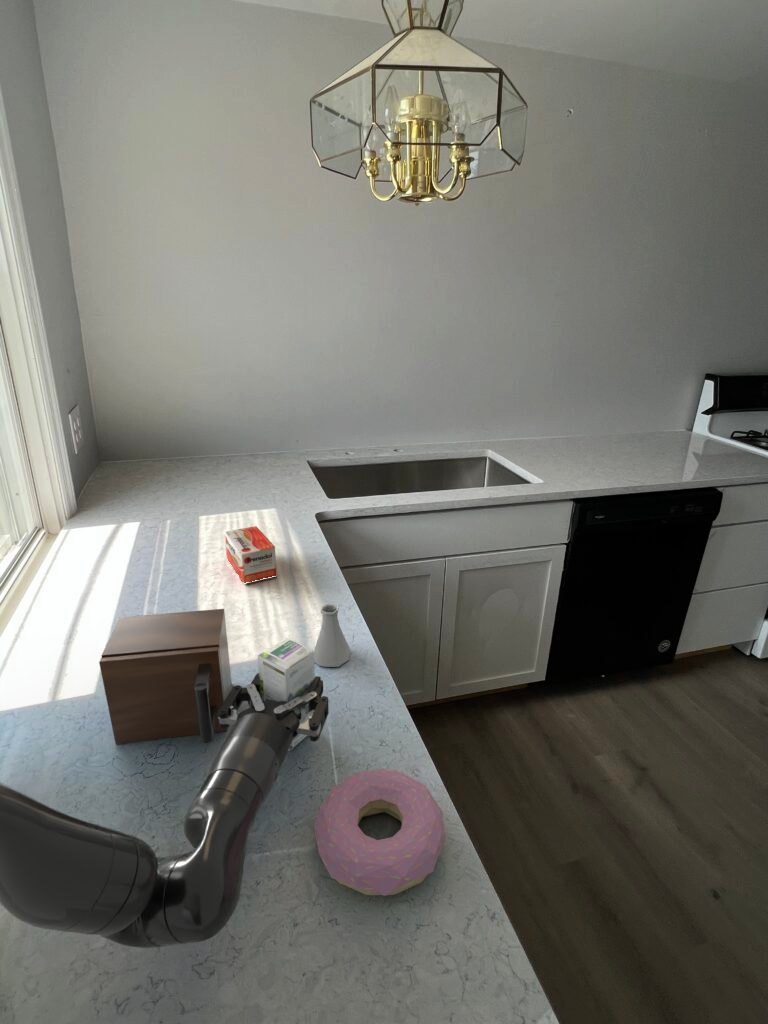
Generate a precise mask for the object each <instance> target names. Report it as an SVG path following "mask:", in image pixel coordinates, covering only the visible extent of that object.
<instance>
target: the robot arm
mask: <svg viewBox="0 0 768 1024" xmlns="http://www.w3.org/2000/svg"><path fill="white" fill-rule="evenodd" d="M323 693H324V680H322V679H321V676H319V675H318V676H316V675H315V678H314V680H313V682H312V685H311V687H310V689H309V693H308V694H306V695H305V696H303V697H301V698H300V697H296V698H294V699H293V700H291V701H289V702H285V701H274V700H269V699H266V700H265V701H262V700H261V697H260V686H259V672H257V673H256V674H255V676H254V677H253V679H252V680H251V682H250V683H249V684H247V685H246V687H242V686H241V685H240V684H236V685H234V686H233V687H231V691H230V693H229V694H228V696H227V698H226V699H225V701H224V702H223V704H222V705H221V707H220V709H219V710H218V718H219V726H220V728H221V729H225V728H227V729H228V728H229V726H231V725H232V726H233V727H232V729H231V730H230V732H229V734H228V736H227V737H226V739H225V741H224V742H223V744H222V746H221V748H220V750H219V752H218V753H217V754H216V756H215V758H214V760H213V761H212V763H211V766H210V768H209V771H208V774H207V775H206V778H205V779H204V781H203V783H202V784H201V786H200V788H199V790H198V791H197V793H196V795H195V796H194V798H193V800H192V802H191V804H190V806H189V808H188V810H187V812H186V814H185V817H184V821H183V832H184V835H185V838H186V840H187V841H188V843H189V844H190V845H191V846H192V847H193V848H194V850H193V851H188V852H184V853H179V854H174V855H168V856H161V857H160V856H159V857H157V855H156V853H155V851H154V849H153V848H152V847H151V845H150V844H148V842H146V841H145V840H143V839H141V838H139V837H137V836H135V835H132V834H130V833H126V832H124V831H119V830H117V829H113V828H110V827H107V826H103V825H100V824H96V823H92V822H90V821H86V820H83V819H80V818H77V817H74V816H72V815H69V814H67V813H65V812H62V811H60V810H57V809H56V808H53V807H51V806H49V805H47V804H45V803H43V802H41V801H39V800H38V799H35V798H34V797H32V796H30V795H28V794H26V793H24V792H23V791H20V790H19V789H16V788H15V787H13V786H11V785H9V784H8V783H5V782H3V781H1V780H0V905H1V906H2V908H4V909H5V910H6V911H7V912H8V913H9V914H10V915H12V916H13V917H14V918H16V919H17V920H19V921H20V922H23V923H25V924H27V925H29V926H31V927H32V926H33V927H36V928H39V929H43V930H51V931H58V932H65V933H75V934H81V935H91V936H101V937H102V938H104V939H106V940H109V941H110V942H114V943H116V944H119V945H121V946H126V947H132V948H141V949H157V948H162V947H169V946H178V945H185V944H193V943H199V942H204V941H207V940H209V939H211V938H213V937H215V936H217V934H219V933H220V932H221V931H222V929H224V927H225V926H226V925H227V923H228V922H229V921H230V919H231V918H232V916H233V914H234V912H235V911H236V908H237V905H238V903H239V900H240V895H241V891H242V890H241V889H242V883H243V876H244V875H243V874H244V867H245V862H246V856H247V850H248V843H249V836H250V833H251V830H252V829H253V826H254V824H255V822H256V819H257V817H258V815H259V812H260V810H261V809H262V806H263V805H264V802H265V800H266V799H267V797H268V796H269V794H270V792H271V791H272V788H273V787H274V784H275V782H276V781H277V780H278V777H279V772H280V770H281V768H282V766H283V763H284V761H285V759H286V757H287V754H288V752H289V751H288V749H289V747H290V744H291V741H292V740H293V739H294V738H295V737H296V736H297V735H298V734H304V735H309V741H311V742H317V741H318V740H319V739H320V737H321V734H322V733H323V729H324V727H325V725H326V722H327V719H328V716H329V713H330V712H329V711H330V709H329V706H330V705H329V697H328V696H326V695H323ZM322 695H323V696H322ZM243 702H247V704H248V706H249V707H248V708H246V709H244V710H242V711H241V712H239V713H237V712H238V711H239V709H240V707H241V706H242V704H243ZM308 703H309V705H307V704H308ZM306 705H307V706H306ZM305 706H306V707H305ZM294 709H296V713H295V711H294ZM313 712H314V713H313ZM311 713H313V715H312V716H309V717H308V719H307V720H306V722H304V723H302V722H303V721H304V720H305V719H306V717H307V716H308V715H310V714H311Z"/></svg>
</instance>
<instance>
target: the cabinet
mask: <svg viewBox="0 0 768 1024" xmlns="http://www.w3.org/2000/svg"><path fill="white" fill-rule="evenodd" d="M225 612H226V611H225V608H215V609H203V610H193V611H190V610H189V611H180V612H179V611H178V612H168V613H154V614H144V615H143V614H141V615H130V616H120V617H118V618H117V619H118V620H117V621H116V623H115V626H114V628H113V630H112V632H111V634H110V635H109V638H108V641H107V642H106V644H105V647H104V649H103V651H102V653H101V658H104V657H115V656H125V655H136V654H147V653H157V652H168V651H179V650H189V649H200V648H211V647H219V654H220V663H221V672H222V682H223V691H224V700H225V699H226V698H227V696H228V694H229V693H230V691H231V690H232V686H233V684H232V673H231V663H230V654H229V644H228V636H227V635H228V633H227V624H226V623H227V622H226V614H225Z"/></svg>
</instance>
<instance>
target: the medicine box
mask: <svg viewBox="0 0 768 1024" xmlns="http://www.w3.org/2000/svg"><path fill="white" fill-rule="evenodd" d="M224 541H225V543H224V544H225V552H226V553H225V555H226V560H227V559H228V561H229V562H230V563H229V562H228V561H227V562H228V563H229V565H230V564H231V565H232V566H231V565H230V566H231V568H232V567H233V568H234V569H233V568H232V569H233V571H234V570H235V571H236V572H237V574H238V575H239V577H240V578H241V580H242V581H243V582H244V583H246V582H252V581H255V580H260V579H263V578H268V577H272V576H276V575H277V574H278V573H277V559H276V558H277V557H276V546H275V545H274V544H273V543H272V542H271V540H270V539H269V538H268V537H267V536H266V535H265V534H264V532H262V530H260V528H259V527H258V526H257V525H255V526H249V527H243V528H239V529H234V530H227V531H224ZM235 571H234V572H235ZM236 572H235V573H236ZM237 574H236V575H237ZM238 575H237V576H238ZM277 576H278V575H277ZM239 577H238V578H239ZM240 578H239V579H240ZM241 580H240V581H241ZM242 581H241V582H242Z"/></svg>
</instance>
